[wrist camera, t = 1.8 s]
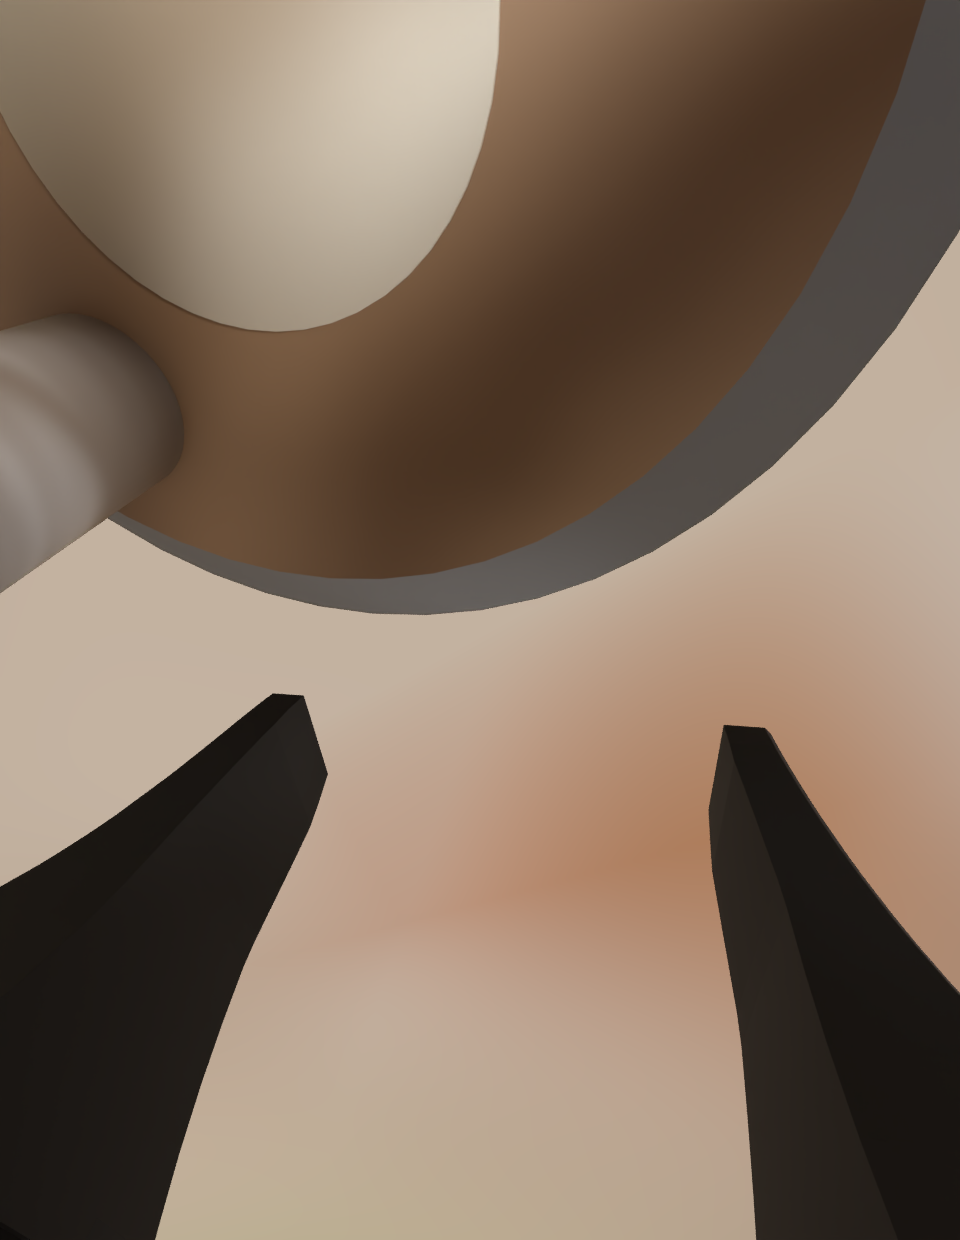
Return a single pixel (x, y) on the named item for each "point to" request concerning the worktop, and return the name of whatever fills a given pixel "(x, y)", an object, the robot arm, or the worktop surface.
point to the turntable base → (759, 401)
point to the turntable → (400, 257)
